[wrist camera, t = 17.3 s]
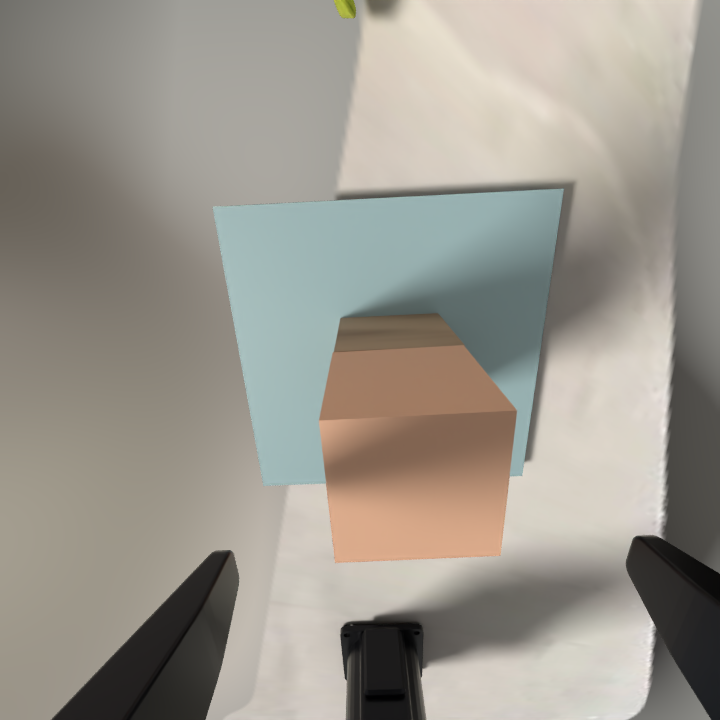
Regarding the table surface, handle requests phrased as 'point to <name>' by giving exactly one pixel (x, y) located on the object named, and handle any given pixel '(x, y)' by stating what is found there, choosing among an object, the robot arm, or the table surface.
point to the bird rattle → (346, 8)
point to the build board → (381, 298)
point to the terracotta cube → (415, 454)
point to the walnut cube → (394, 332)
